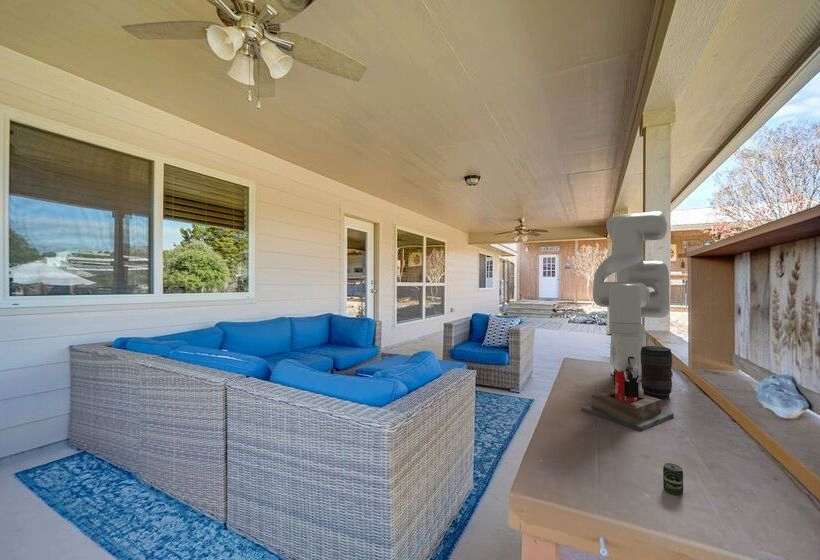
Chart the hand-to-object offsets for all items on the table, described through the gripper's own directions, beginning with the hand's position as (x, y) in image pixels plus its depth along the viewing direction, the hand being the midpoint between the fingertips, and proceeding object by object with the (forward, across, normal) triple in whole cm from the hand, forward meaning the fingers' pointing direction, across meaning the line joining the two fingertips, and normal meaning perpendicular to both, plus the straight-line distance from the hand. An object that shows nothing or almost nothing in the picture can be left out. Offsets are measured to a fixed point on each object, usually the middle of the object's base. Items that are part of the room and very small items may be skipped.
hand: (625, 390), depth 98 cm
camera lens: (+6, -18, +13) cm, 23 cm away
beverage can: (+5, 0, 0) cm, 5 cm away
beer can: (+6, +37, -3) cm, 37 cm away
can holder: (+6, 0, 0) cm, 6 cm away
